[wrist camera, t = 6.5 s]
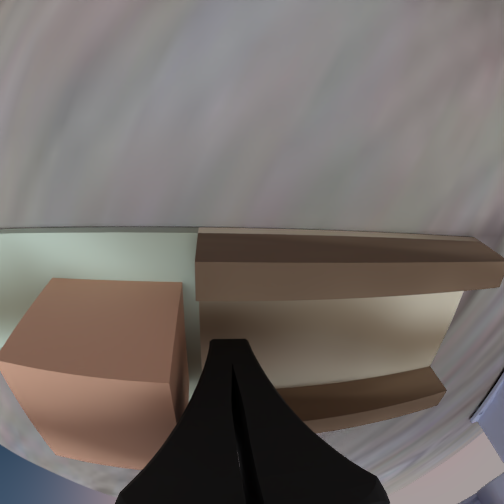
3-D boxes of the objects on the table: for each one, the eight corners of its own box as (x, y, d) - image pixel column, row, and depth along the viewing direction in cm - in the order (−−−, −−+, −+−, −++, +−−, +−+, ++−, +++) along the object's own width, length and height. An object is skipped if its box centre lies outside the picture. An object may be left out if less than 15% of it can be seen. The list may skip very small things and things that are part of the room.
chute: (418, 375, 15) (437, 405, 13) (12, 376, 12) (-4, 408, 10) (473, 237, 12) (509, 261, 10) (-43, 230, 9) (-76, 255, 7)
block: (189, 381, 13) (187, 473, 8) (82, 373, 12) (55, 454, 8) (182, 282, 10) (169, 383, 6) (52, 277, 10) (-6, 359, 6)
